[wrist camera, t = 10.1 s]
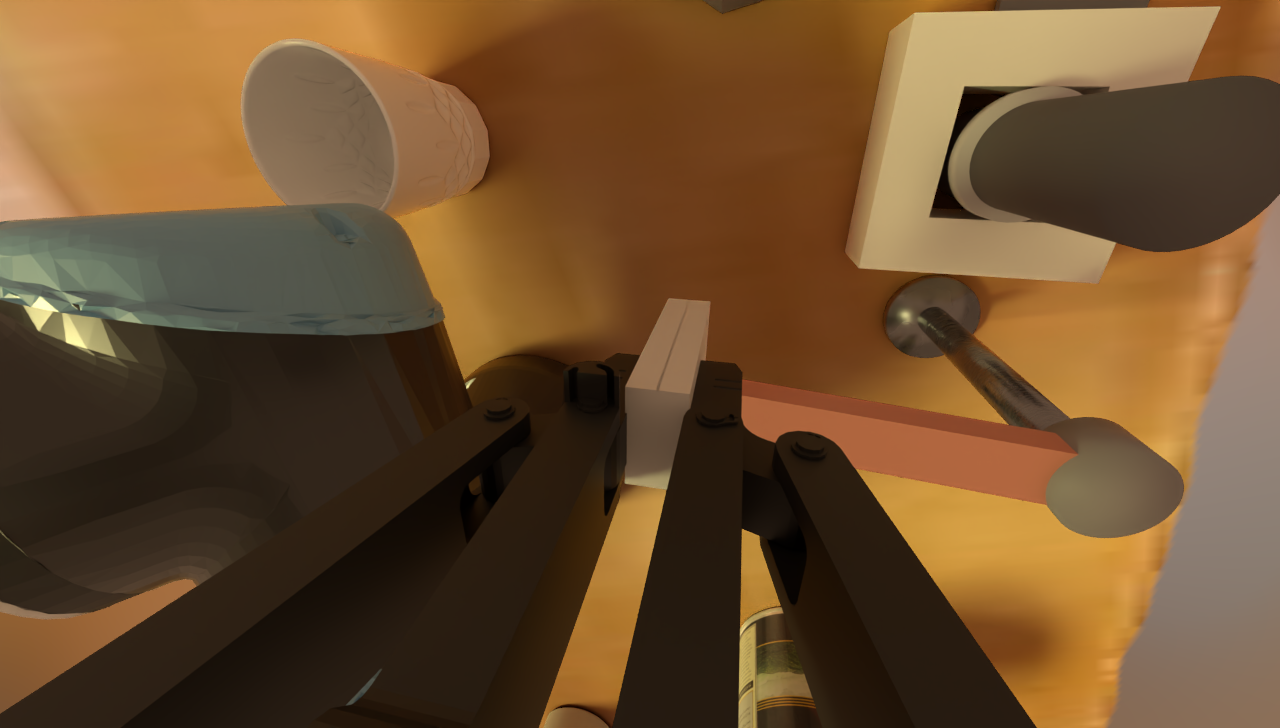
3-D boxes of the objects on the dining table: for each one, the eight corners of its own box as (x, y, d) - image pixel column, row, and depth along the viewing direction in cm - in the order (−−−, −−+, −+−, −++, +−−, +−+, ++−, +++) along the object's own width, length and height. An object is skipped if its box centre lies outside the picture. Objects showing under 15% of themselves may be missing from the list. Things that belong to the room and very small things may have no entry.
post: (959, 356, 30) (1122, 521, 17) (874, 348, 31) (968, 500, 18) (986, 278, 28) (1195, 399, 15) (894, 272, 29) (1016, 381, 16)
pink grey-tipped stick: (1155, 427, 15) (1209, 465, 13) (1103, 503, 17) (1145, 547, 15) (646, 342, 17) (634, 366, 16) (637, 416, 19) (626, 445, 17)
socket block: (1051, 264, 27) (1098, 283, 23) (844, 252, 29) (858, 268, 25) (1144, 27, 22) (1221, 6, 18) (889, 31, 24) (914, 12, 20)
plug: (1013, 209, 26) (1258, 275, 14) (907, 205, 27) (1045, 263, 15) (1052, 96, 24) (1389, 51, 11) (934, 95, 25) (1127, 53, 12)
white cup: (375, 67, 29) (215, 37, 21) (494, 70, 28) (379, 39, 19) (397, 201, 33) (269, 224, 24) (504, 209, 32) (411, 237, 23)
